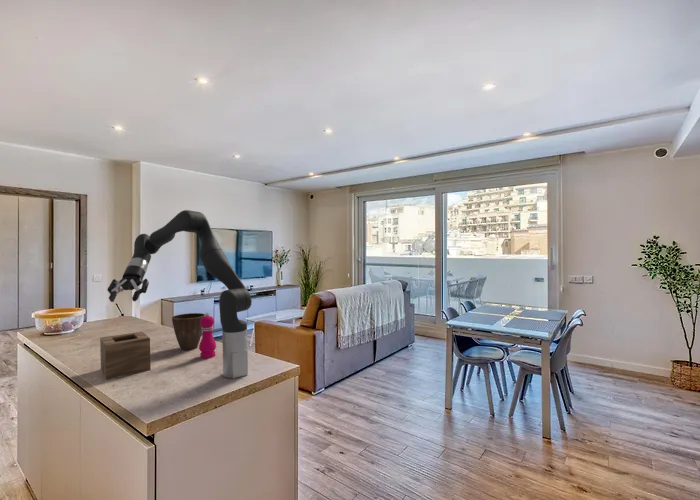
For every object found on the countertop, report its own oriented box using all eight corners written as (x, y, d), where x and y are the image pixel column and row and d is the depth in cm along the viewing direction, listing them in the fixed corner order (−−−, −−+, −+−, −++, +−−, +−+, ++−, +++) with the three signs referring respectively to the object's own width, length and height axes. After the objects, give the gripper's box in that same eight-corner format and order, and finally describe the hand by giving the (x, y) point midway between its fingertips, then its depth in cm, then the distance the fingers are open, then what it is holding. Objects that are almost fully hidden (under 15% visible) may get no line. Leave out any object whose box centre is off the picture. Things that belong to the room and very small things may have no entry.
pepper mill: (210, 359, 154) (209, 314, 154) (195, 358, 156) (195, 313, 155) (219, 354, 161) (218, 311, 161) (205, 353, 163) (204, 310, 163)
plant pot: (174, 345, 176) (173, 314, 176) (206, 342, 182) (205, 312, 182) (170, 354, 162) (169, 320, 162) (204, 350, 168) (204, 317, 168)
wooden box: (150, 369, 142) (150, 338, 142) (105, 379, 132) (105, 345, 132) (142, 360, 153) (141, 331, 153) (100, 369, 143) (100, 337, 143)
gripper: (115, 264, 149) (99, 295, 137) (150, 264, 150) (137, 294, 139) (121, 276, 154) (107, 306, 143) (156, 275, 156) (144, 305, 144)
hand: (122, 300), depth 141 cm, fingers open, 8 cm apart
